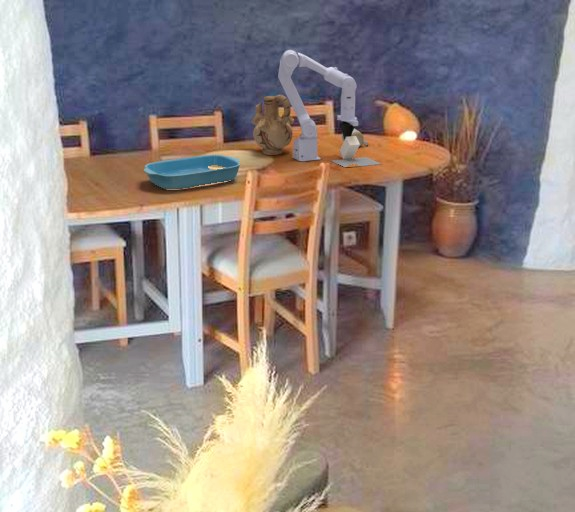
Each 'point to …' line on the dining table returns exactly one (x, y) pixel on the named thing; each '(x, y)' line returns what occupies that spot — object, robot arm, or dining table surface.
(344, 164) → the slate mat
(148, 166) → the casserole dish
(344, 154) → the off-white block
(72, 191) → the dining table surface
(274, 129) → the ceramic vessel
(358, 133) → the ceramic mug
